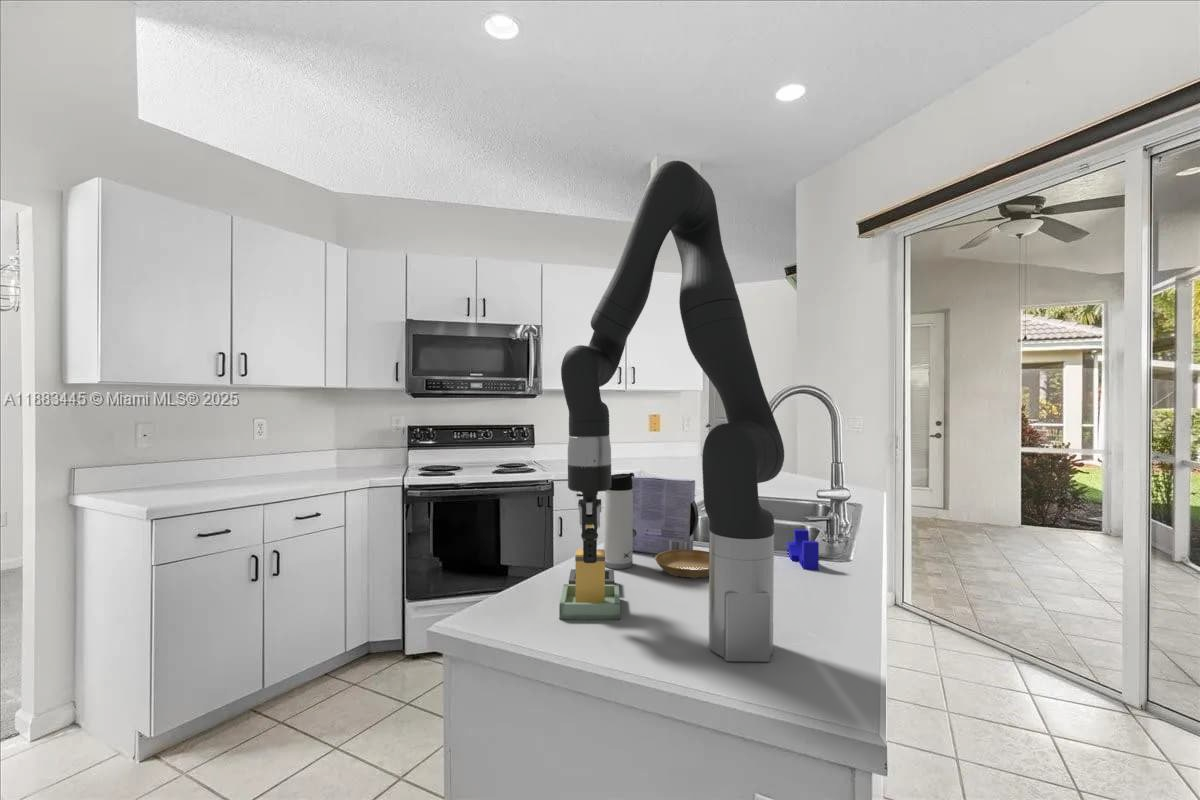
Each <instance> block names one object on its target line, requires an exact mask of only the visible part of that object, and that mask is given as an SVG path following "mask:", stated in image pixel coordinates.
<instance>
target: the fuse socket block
mask: <svg viewBox="0 0 1200 800" xmlns="http://www.w3.org/2000/svg"><path fill="white" fill-rule="evenodd" d="M568 584H576V568H575V569H570V572H569V577H568ZM605 585H615V569H605Z"/></svg>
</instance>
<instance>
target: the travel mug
mask: <svg viewBox="0 0 1200 800" xmlns="http://www.w3.org/2000/svg"><path fill="white" fill-rule="evenodd" d="M634 475H635V473H634V472H628V473H616V474H615V473H614V474H611V488H610V489H609V490H606V491H603V550H605V568H608V569H611V570H625V569H628V568H631V567H632V566H633V562H634V561H633V552H634V551H633V492H632V491H633V486H632V484H633V482H632V476H633V477H634Z"/></svg>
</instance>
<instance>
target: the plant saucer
mask: <svg viewBox="0 0 1200 800" xmlns="http://www.w3.org/2000/svg"><path fill="white" fill-rule="evenodd" d="M654 560H655V562H656V563H657V564H658V566H659V567H660V568H661V569H662V570H663V572H665V573H667V574H668V573H669V574H668V575H671V574H672V575H671V576H674V575H676V576H675V577H678V576H680V578H684V577H691V578H690V579H700V578H699V577H704V578H708V577H707V576H709V551H707V550H706V551H705V550H699V549H693V550H671V551H666V552H662V553H660V554H655V558H654ZM677 567H678V568H677ZM680 567H681V568H683V567H685V568H686V567H688V568H689V567H691V568H692V567H694V568H696V567H697V568H699V567H700V568H699V569H698V570H690V569H684V568H683V569H681V568H680ZM702 567H703V568H708V569H703V568H702ZM697 568H696V569H697ZM701 568H702V569H701ZM700 569H701V570H700Z"/></svg>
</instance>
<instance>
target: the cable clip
mask: <svg viewBox="0 0 1200 800" xmlns="http://www.w3.org/2000/svg"><path fill="white" fill-rule="evenodd" d="M809 533H810V532H809V530H808V529H800V528H799V529H796V528H793V541H787V542H786V543H787V544H786V554H787V556H788V555H789V556H788V558H789V557H790V558H789V560H790V561H791V560H792V561H791V562H798V563H799V565H800V566H801V568H802V569H803V570H805V569H806V570H807V571H809V570H810V571H819V558H820V557H819V548H820V547H819V545H820V543H819V541H818V540H810V535H809ZM787 552H789V553H787ZM806 570H805V571H806Z"/></svg>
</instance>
